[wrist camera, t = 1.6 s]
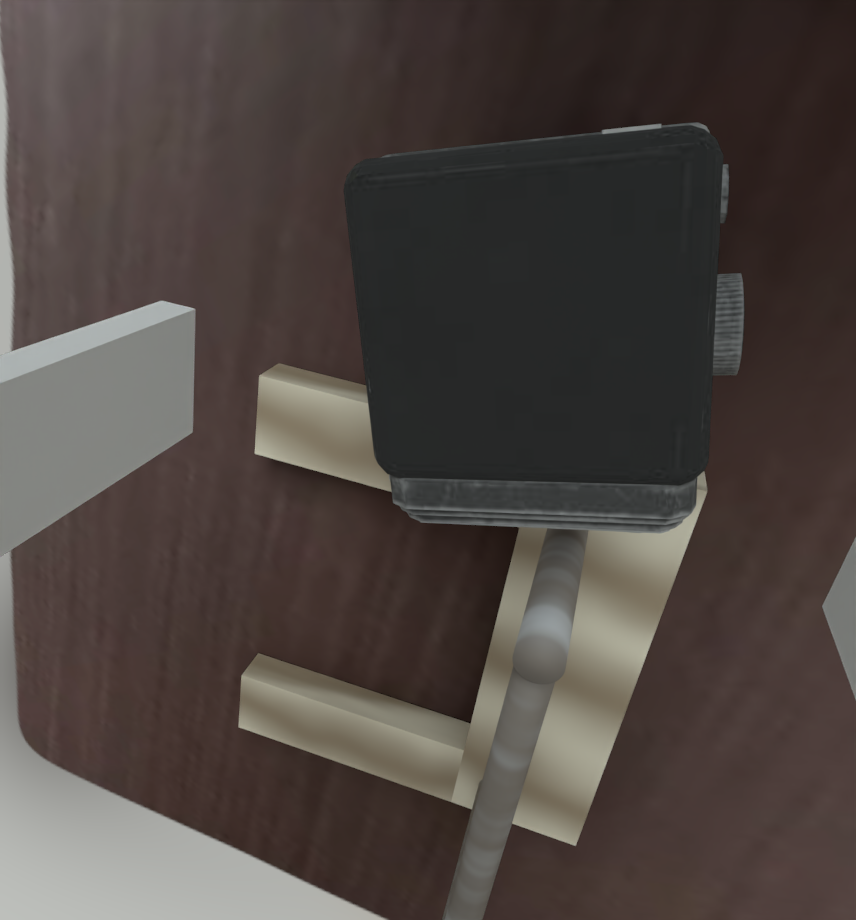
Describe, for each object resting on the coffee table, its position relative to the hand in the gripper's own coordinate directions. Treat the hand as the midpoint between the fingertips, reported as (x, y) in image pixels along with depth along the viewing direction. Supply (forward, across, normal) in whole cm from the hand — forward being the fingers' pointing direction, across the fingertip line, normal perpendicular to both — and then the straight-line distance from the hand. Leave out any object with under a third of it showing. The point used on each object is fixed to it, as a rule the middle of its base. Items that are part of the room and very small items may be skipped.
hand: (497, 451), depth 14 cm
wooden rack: (+18, -3, -18) cm, 26 cm away
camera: (+18, 0, 0) cm, 18 cm away
